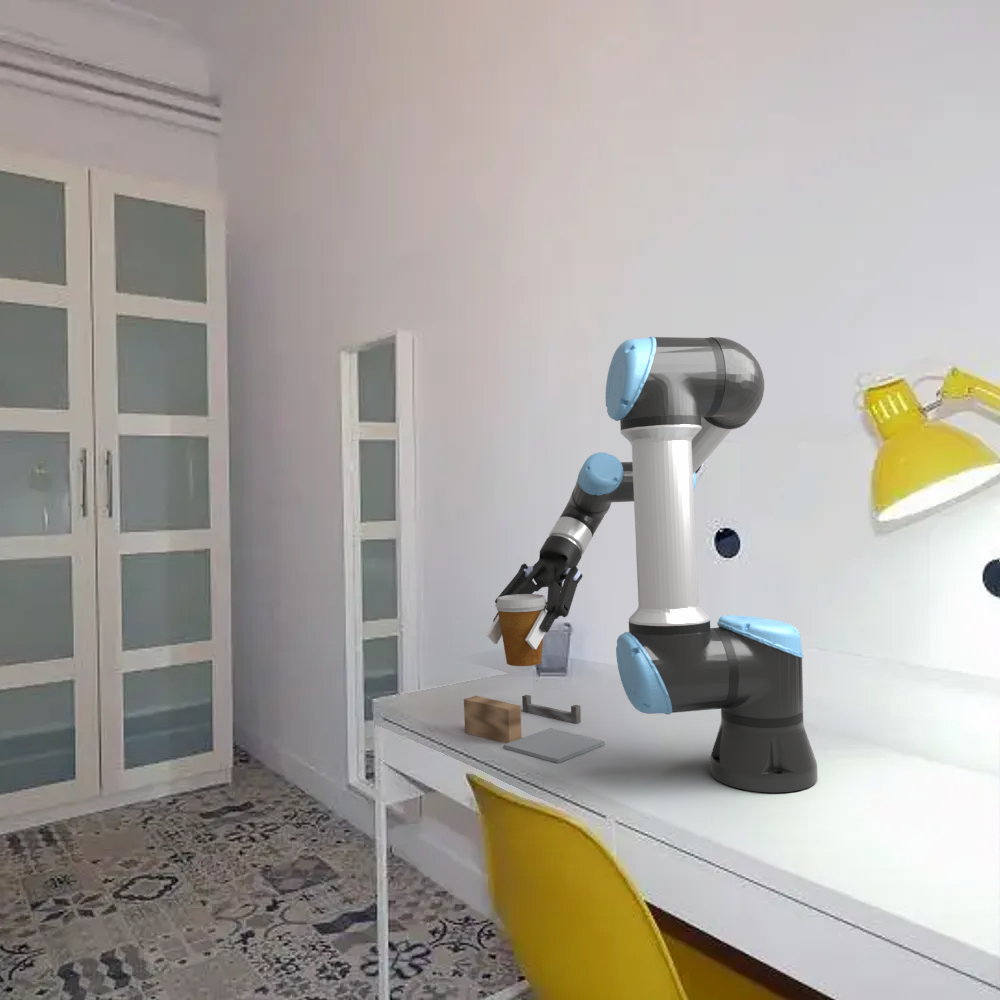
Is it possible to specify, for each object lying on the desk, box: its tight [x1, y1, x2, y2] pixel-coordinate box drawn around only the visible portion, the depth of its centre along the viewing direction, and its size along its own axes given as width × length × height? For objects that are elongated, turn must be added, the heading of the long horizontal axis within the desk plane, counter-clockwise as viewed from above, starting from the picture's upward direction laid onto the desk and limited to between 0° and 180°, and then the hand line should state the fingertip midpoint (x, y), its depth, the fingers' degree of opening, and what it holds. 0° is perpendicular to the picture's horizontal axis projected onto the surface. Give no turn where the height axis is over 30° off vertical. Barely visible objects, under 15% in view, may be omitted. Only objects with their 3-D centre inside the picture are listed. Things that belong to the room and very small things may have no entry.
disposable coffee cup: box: [495, 593, 547, 667], centre depth 157 cm, size 10×10×12 cm
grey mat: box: [502, 727, 606, 764], centre depth 144 cm, size 12×12×1 cm
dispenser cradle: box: [463, 694, 582, 744], centre depth 156 cm, size 13×18×6 cm
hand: (510, 642), depth 154 cm, fingers closed on disposable coffee cup, 9 cm apart
